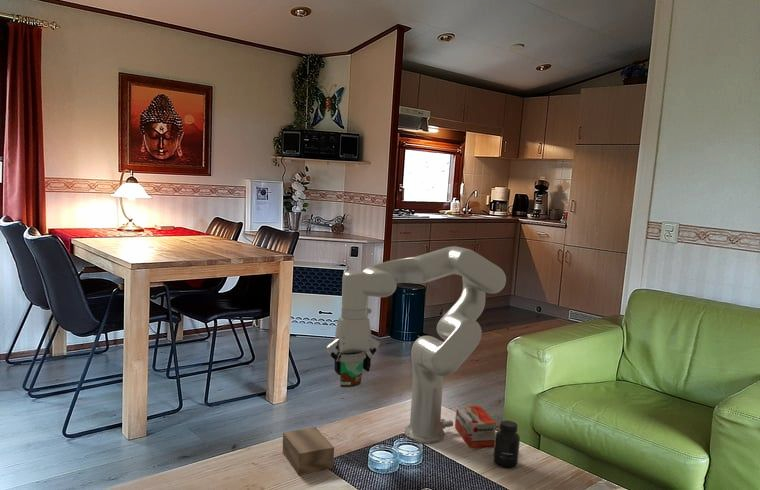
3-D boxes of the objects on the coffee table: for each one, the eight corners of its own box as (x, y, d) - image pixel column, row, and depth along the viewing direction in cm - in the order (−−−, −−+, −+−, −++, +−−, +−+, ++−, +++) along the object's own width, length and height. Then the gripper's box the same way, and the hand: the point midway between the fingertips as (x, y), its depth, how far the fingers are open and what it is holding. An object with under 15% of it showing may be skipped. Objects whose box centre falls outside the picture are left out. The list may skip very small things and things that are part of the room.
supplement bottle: (504, 471, 160) (507, 430, 158) (488, 460, 166) (491, 420, 164) (522, 466, 163) (525, 426, 162) (507, 456, 169) (510, 417, 168)
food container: (360, 391, 162) (361, 357, 160) (338, 388, 163) (340, 354, 161) (368, 376, 174) (370, 344, 172) (348, 374, 175) (350, 342, 173)
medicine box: (454, 428, 187) (455, 405, 186) (477, 427, 189) (479, 404, 188) (470, 449, 172) (471, 424, 171) (495, 448, 174) (497, 423, 173)
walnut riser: (315, 446, 169) (315, 427, 168) (333, 468, 157) (334, 447, 156) (282, 452, 164) (283, 432, 164) (298, 475, 152) (299, 453, 151)
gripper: (375, 309, 173) (373, 364, 175) (321, 313, 165) (320, 371, 167) (386, 314, 166) (384, 372, 168) (331, 318, 158) (329, 379, 160)
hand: (352, 371), depth 167 cm, fingers closed on food container, 8 cm apart
